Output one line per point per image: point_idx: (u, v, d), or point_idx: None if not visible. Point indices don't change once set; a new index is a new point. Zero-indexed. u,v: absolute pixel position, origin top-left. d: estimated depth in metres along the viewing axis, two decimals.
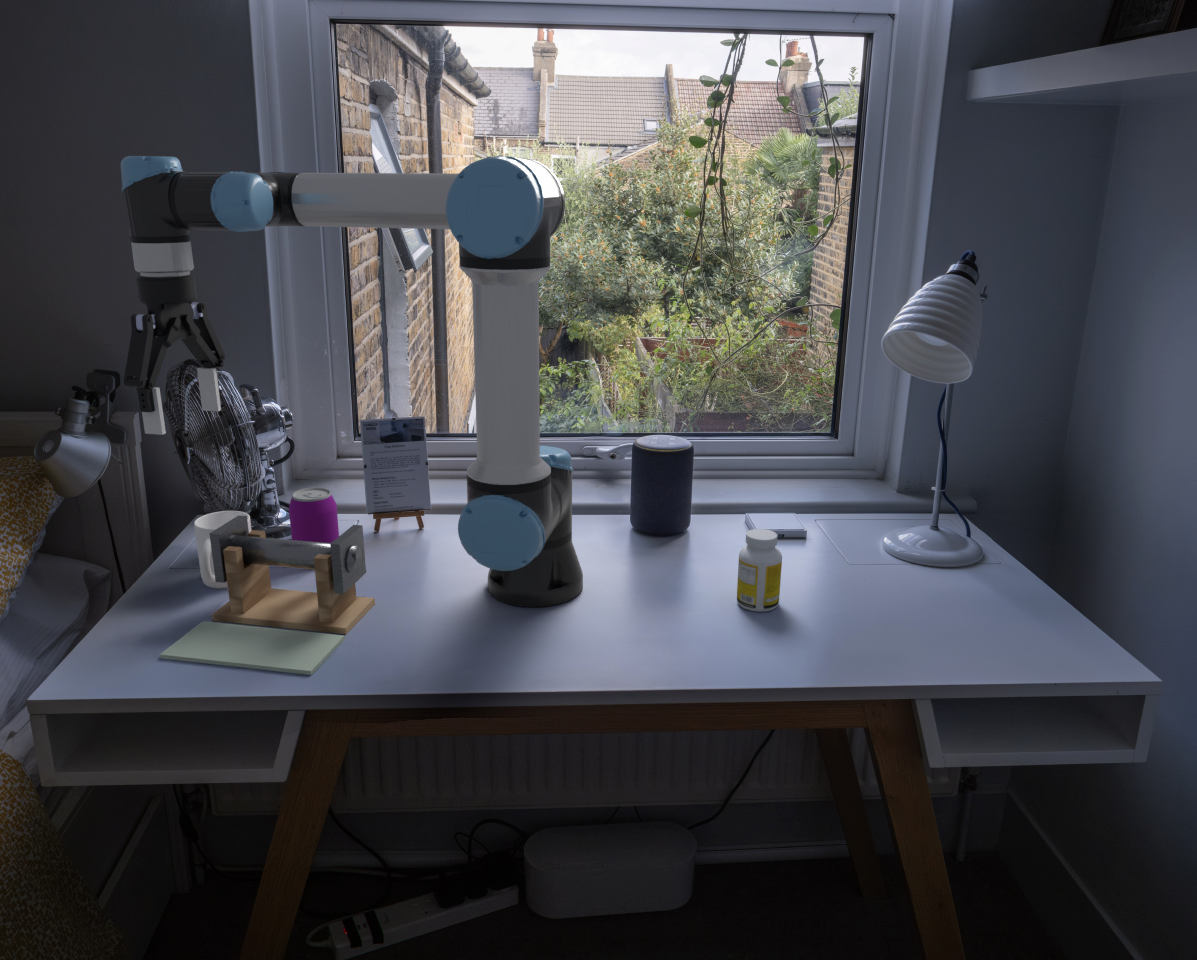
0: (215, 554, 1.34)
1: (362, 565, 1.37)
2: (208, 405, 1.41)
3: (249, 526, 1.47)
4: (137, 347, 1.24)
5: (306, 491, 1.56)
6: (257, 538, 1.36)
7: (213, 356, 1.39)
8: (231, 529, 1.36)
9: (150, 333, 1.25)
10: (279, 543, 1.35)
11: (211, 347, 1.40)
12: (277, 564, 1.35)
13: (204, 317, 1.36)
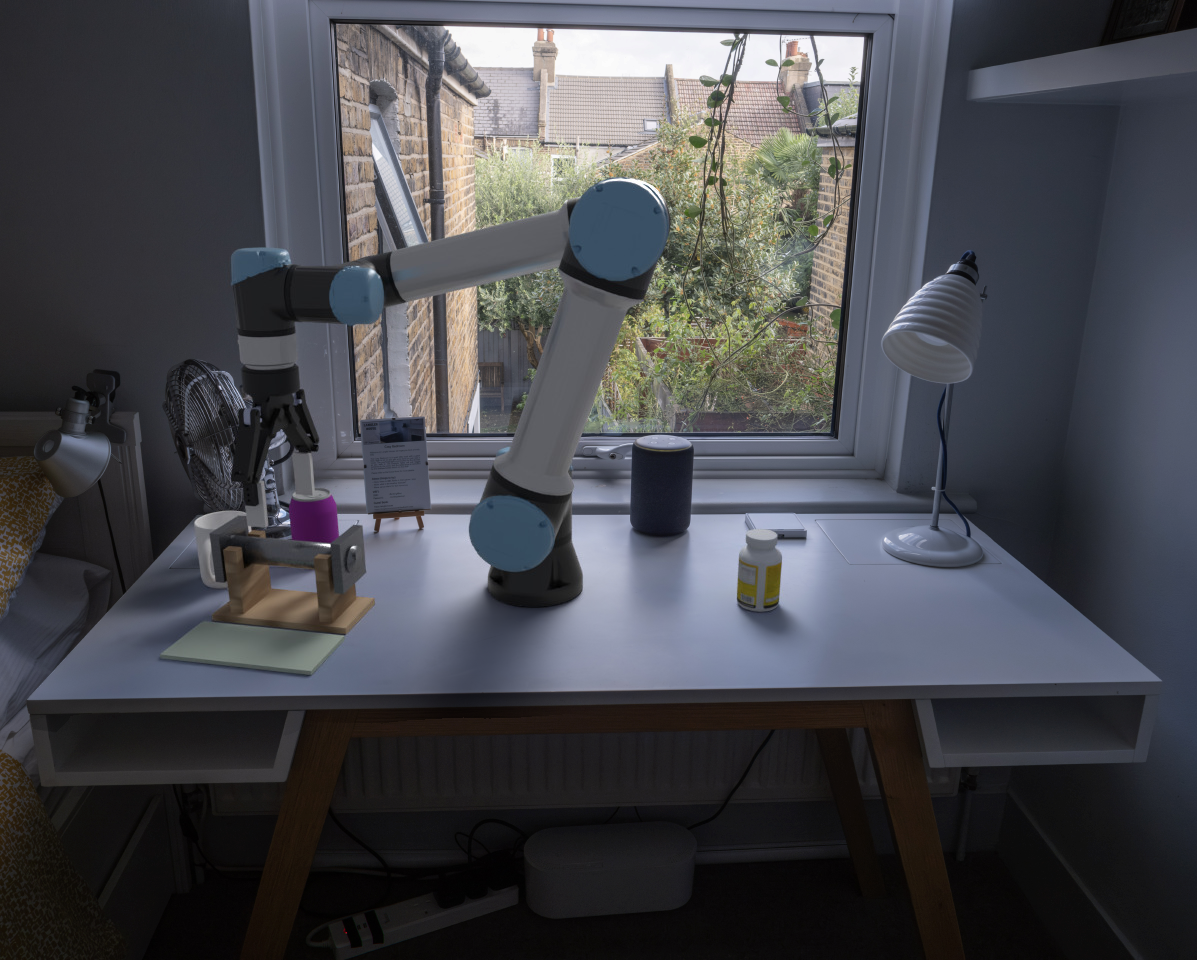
0: (215, 554, 1.34)
1: (362, 565, 1.37)
2: (302, 489, 1.40)
3: (249, 526, 1.47)
4: (244, 442, 1.22)
5: None
6: (257, 538, 1.36)
7: (309, 441, 1.38)
8: (231, 529, 1.36)
9: (257, 427, 1.23)
10: (279, 543, 1.35)
11: (307, 431, 1.38)
12: (277, 564, 1.35)
13: (302, 404, 1.35)
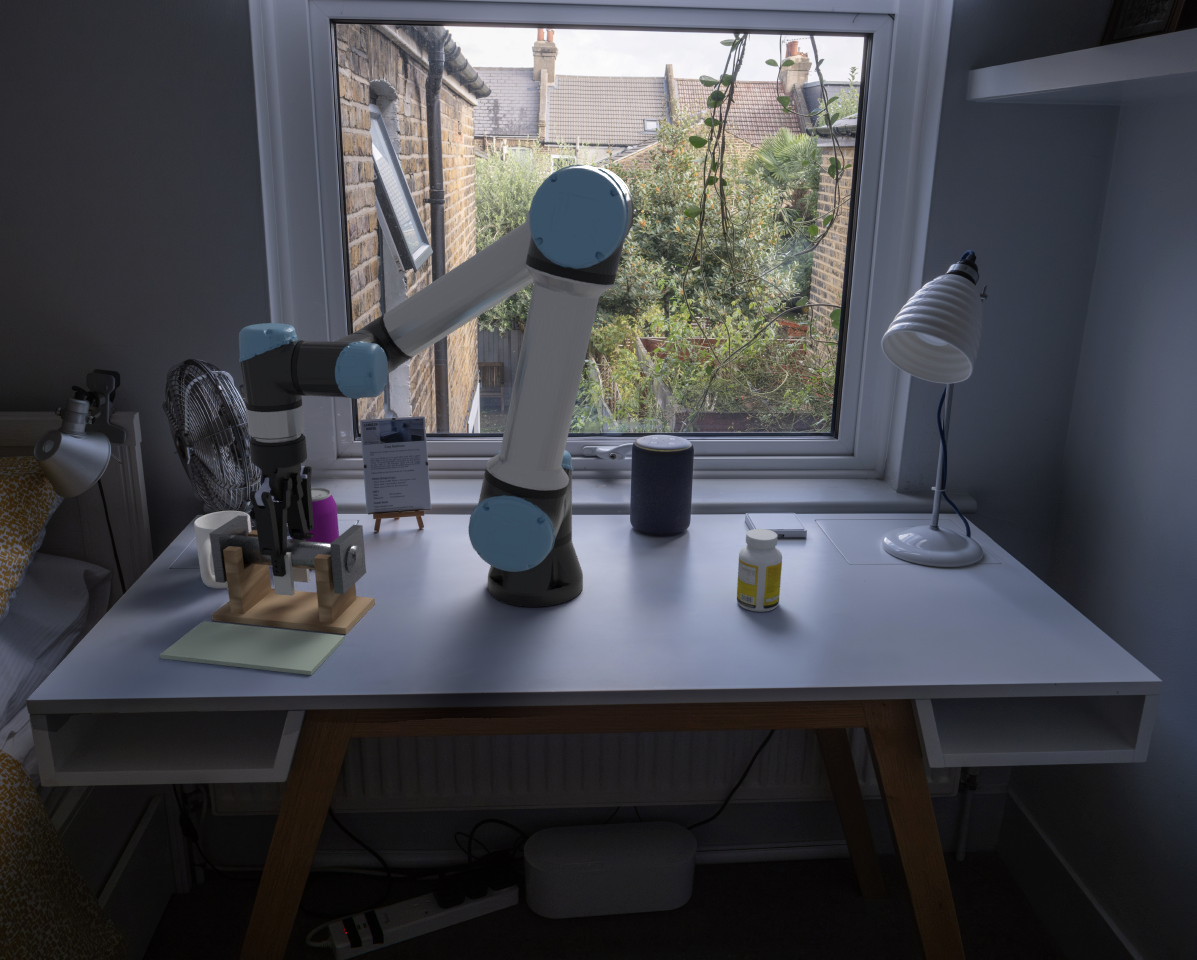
0: (215, 554, 1.34)
1: (362, 565, 1.37)
2: (297, 576, 1.39)
3: (249, 526, 1.47)
4: (264, 522, 1.28)
5: None
6: (257, 538, 1.36)
7: (305, 526, 1.38)
8: (231, 529, 1.36)
9: (271, 507, 1.28)
10: None
11: (304, 513, 1.39)
12: None
13: (307, 480, 1.37)
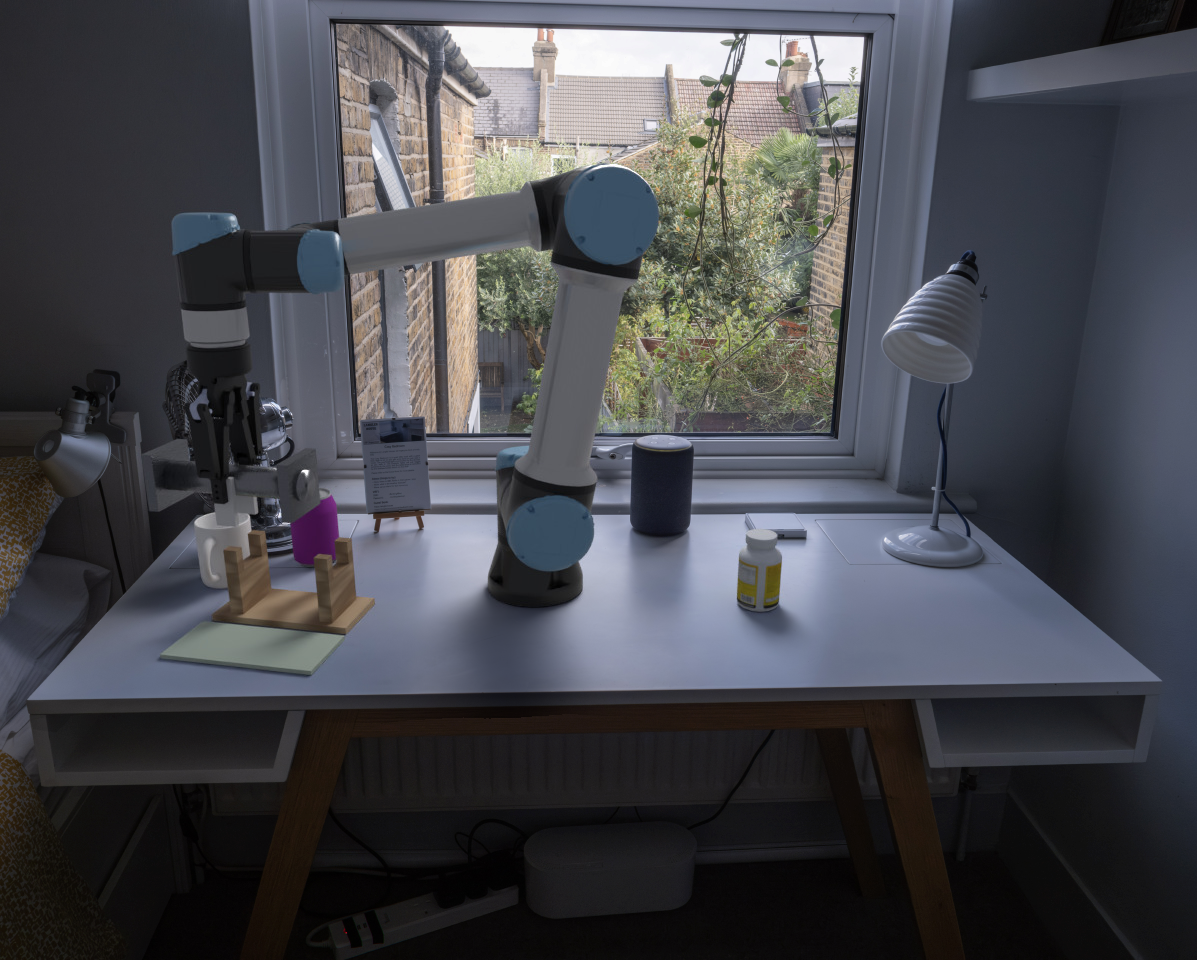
0: (148, 478, 1.18)
1: (315, 494, 1.22)
2: (243, 507, 1.24)
3: (249, 526, 1.47)
4: (201, 439, 1.13)
5: None
6: None
7: (252, 450, 1.22)
8: (167, 452, 1.21)
9: (209, 421, 1.12)
10: None
11: (251, 436, 1.23)
12: None
13: (254, 398, 1.22)
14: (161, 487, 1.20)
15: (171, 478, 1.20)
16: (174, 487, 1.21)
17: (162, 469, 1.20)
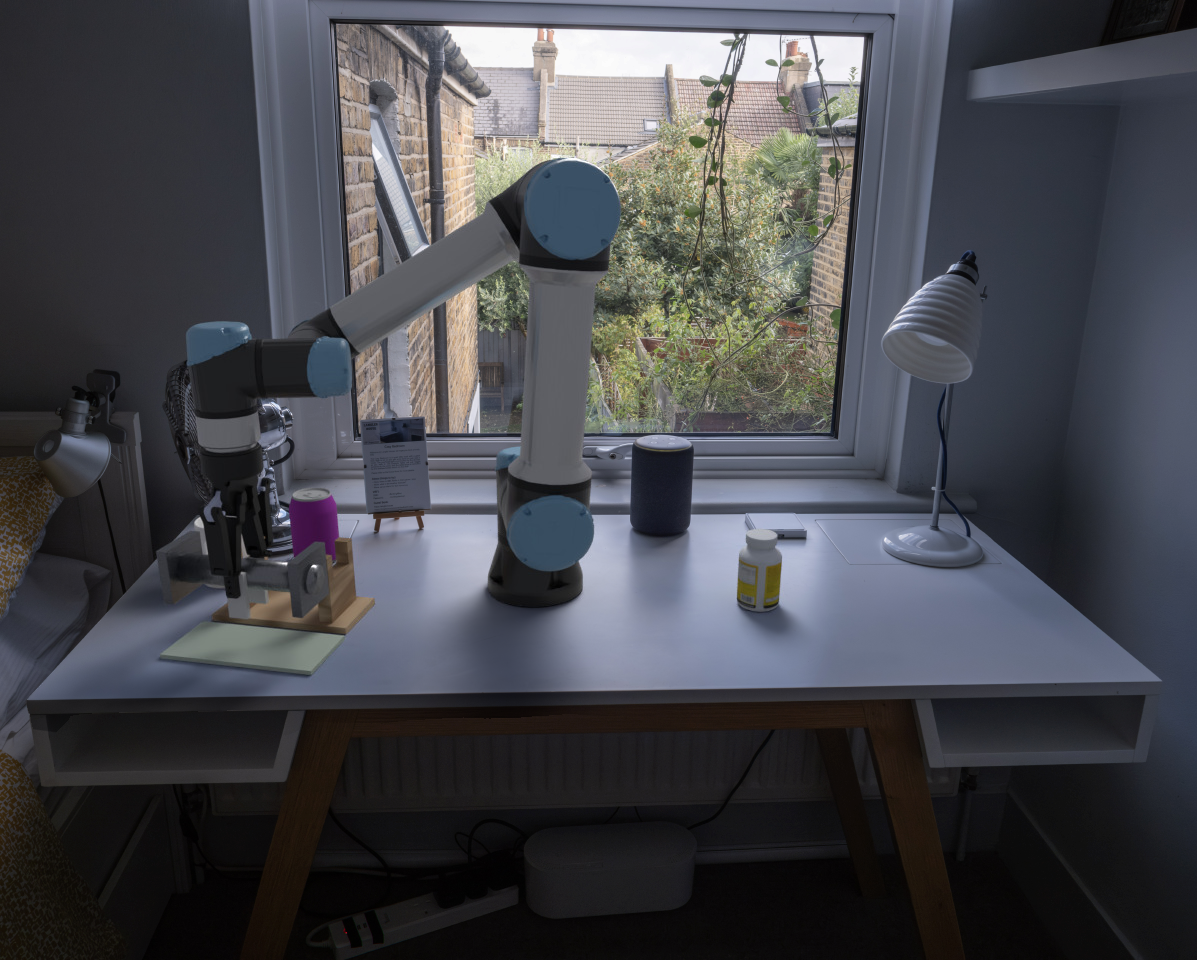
0: (163, 574, 1.22)
1: (324, 585, 1.26)
2: (254, 597, 1.28)
3: None
4: (214, 540, 1.17)
5: (306, 491, 1.56)
6: None
7: (263, 543, 1.26)
8: (181, 546, 1.25)
9: (223, 523, 1.16)
10: None
11: (262, 529, 1.27)
12: None
13: (265, 493, 1.26)
14: (175, 581, 1.24)
15: (185, 572, 1.24)
16: (188, 580, 1.25)
17: (176, 563, 1.24)
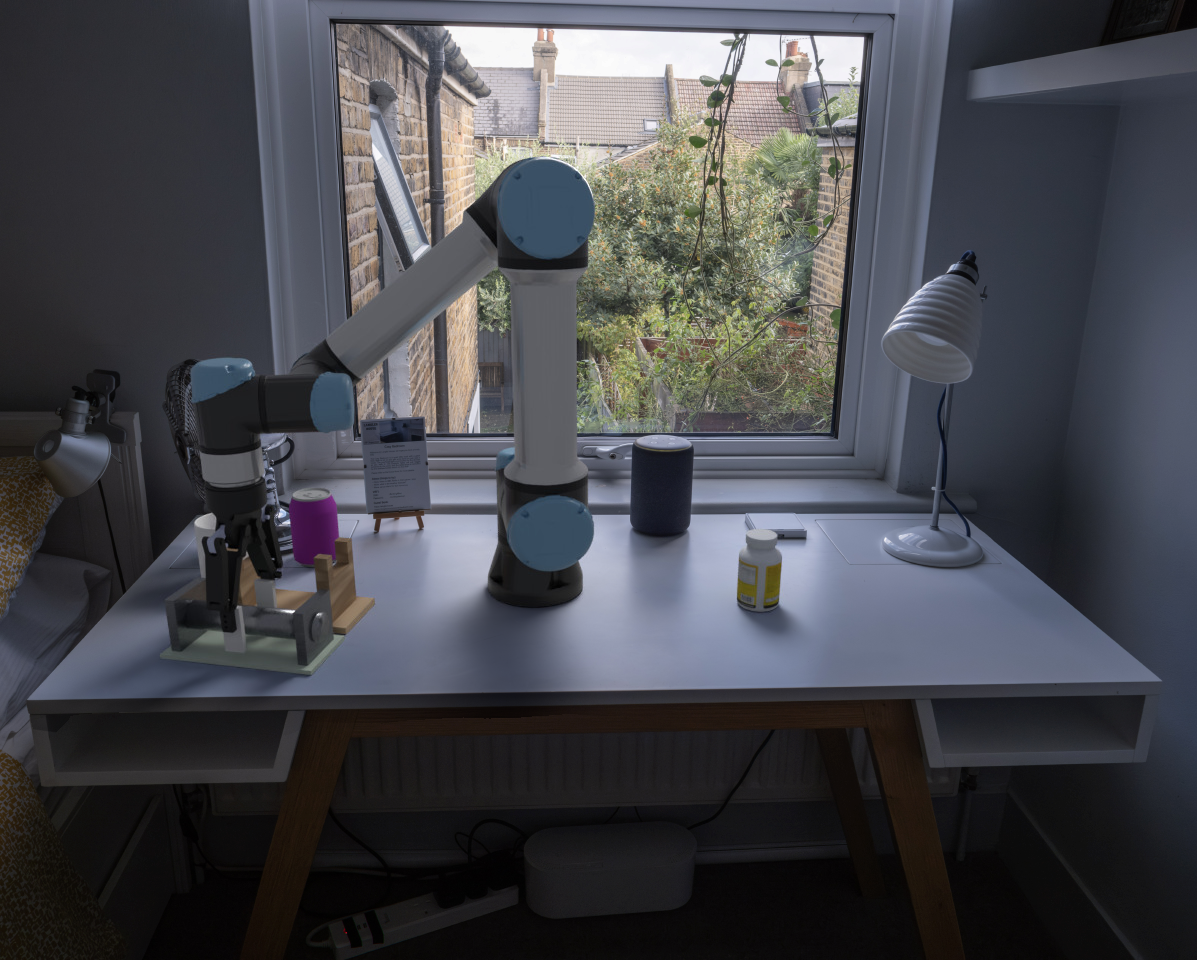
0: (171, 622, 1.25)
1: (329, 632, 1.28)
2: None
3: None
4: (214, 572, 1.17)
5: (306, 491, 1.56)
6: None
7: (273, 566, 1.29)
8: (189, 594, 1.27)
9: (224, 555, 1.17)
10: None
11: (271, 553, 1.30)
12: None
13: (270, 520, 1.28)
14: (183, 628, 1.26)
15: (192, 619, 1.26)
16: (195, 627, 1.27)
17: (184, 611, 1.26)
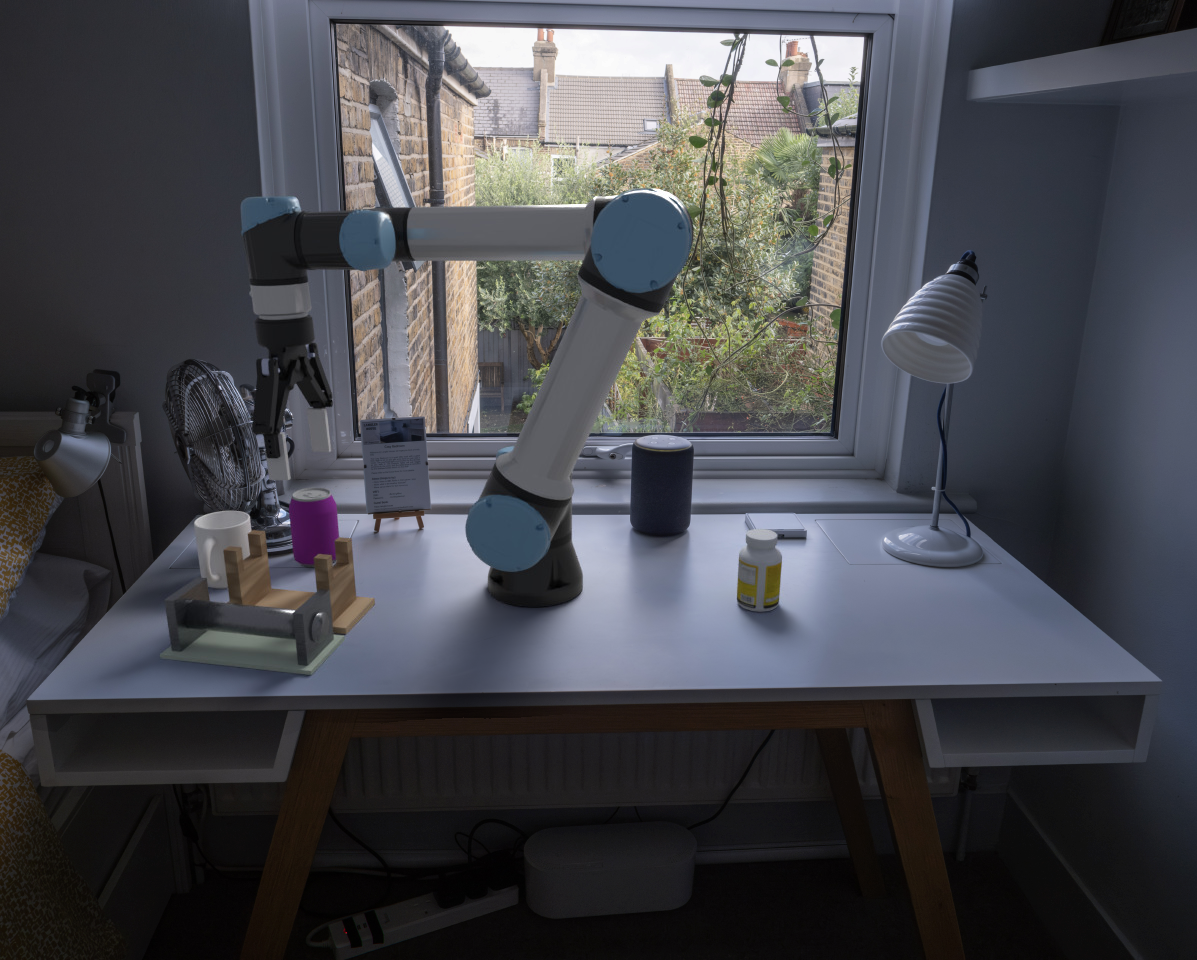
0: (171, 622, 1.25)
1: (329, 632, 1.28)
2: (318, 446, 1.38)
3: (249, 526, 1.47)
4: (264, 393, 1.21)
5: (306, 491, 1.56)
6: (216, 603, 1.27)
7: (323, 396, 1.36)
8: (189, 594, 1.27)
9: (276, 377, 1.22)
10: (239, 609, 1.26)
11: (320, 387, 1.37)
12: (237, 632, 1.26)
13: (315, 357, 1.33)
14: (183, 628, 1.26)
15: (192, 619, 1.26)
16: (195, 627, 1.27)
17: (184, 611, 1.26)
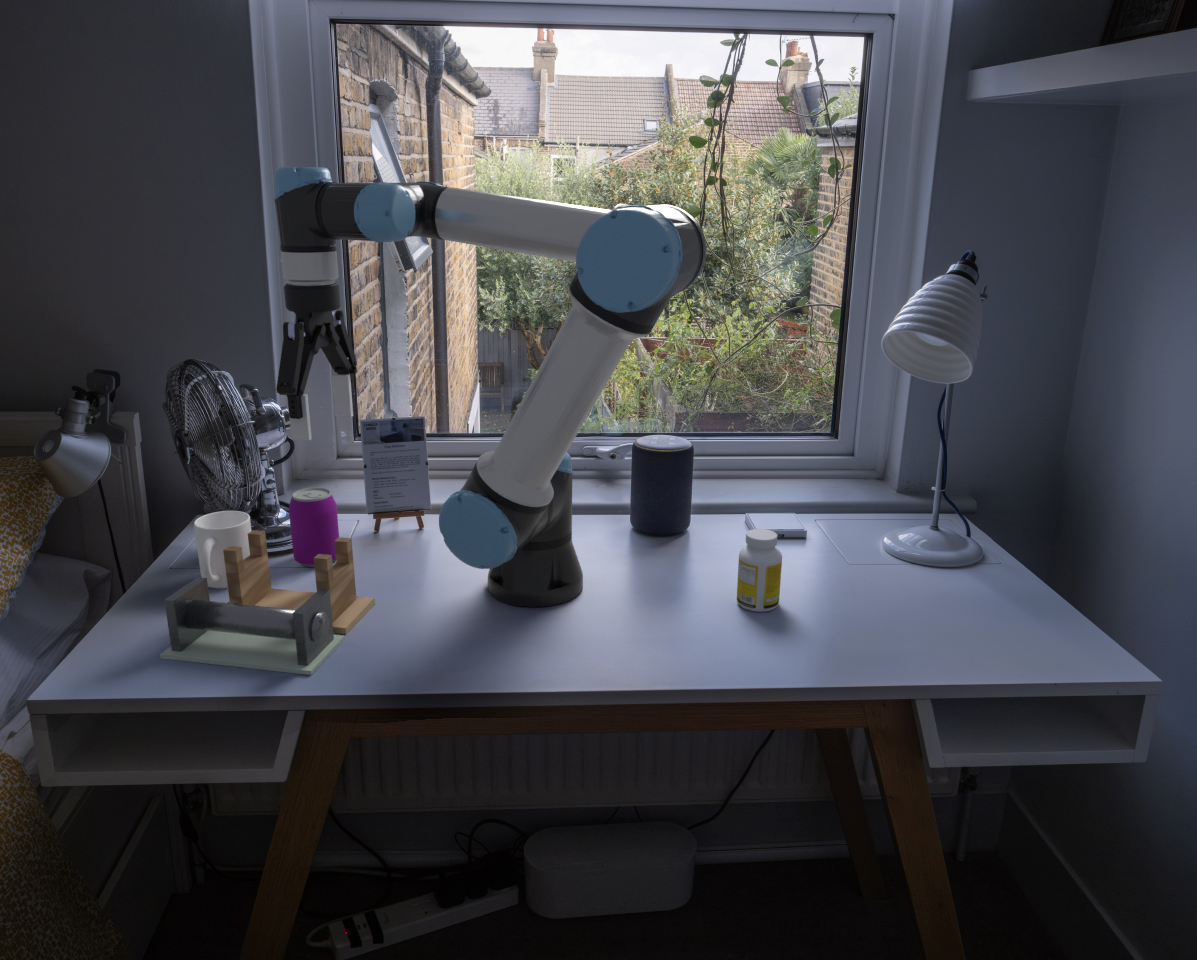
0: (171, 622, 1.25)
1: (329, 632, 1.28)
2: (341, 411, 1.43)
3: (249, 526, 1.47)
4: (289, 355, 1.26)
5: (306, 491, 1.56)
6: (216, 603, 1.27)
7: (348, 363, 1.41)
8: (189, 594, 1.27)
9: (301, 341, 1.27)
10: (239, 609, 1.26)
11: (345, 354, 1.42)
12: (237, 632, 1.26)
13: (341, 325, 1.38)
14: (183, 628, 1.26)
15: (192, 619, 1.26)
16: (195, 627, 1.27)
17: (184, 611, 1.26)
